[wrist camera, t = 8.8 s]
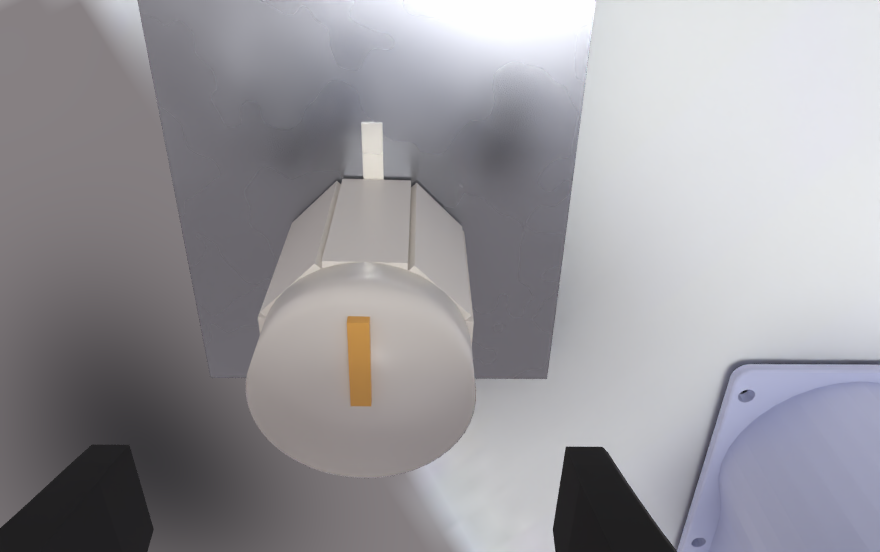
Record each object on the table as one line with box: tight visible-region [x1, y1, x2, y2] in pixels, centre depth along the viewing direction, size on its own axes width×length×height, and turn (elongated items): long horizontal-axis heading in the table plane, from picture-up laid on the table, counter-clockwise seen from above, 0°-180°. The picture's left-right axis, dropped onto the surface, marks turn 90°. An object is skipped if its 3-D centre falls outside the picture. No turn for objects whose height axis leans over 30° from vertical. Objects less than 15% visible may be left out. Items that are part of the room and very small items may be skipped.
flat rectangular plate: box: [138, 0, 596, 379], centre depth 15 cm, size 16×10×4 cm, turn 179°
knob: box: [246, 179, 476, 478], centre depth 15 cm, size 4×4×6 cm
